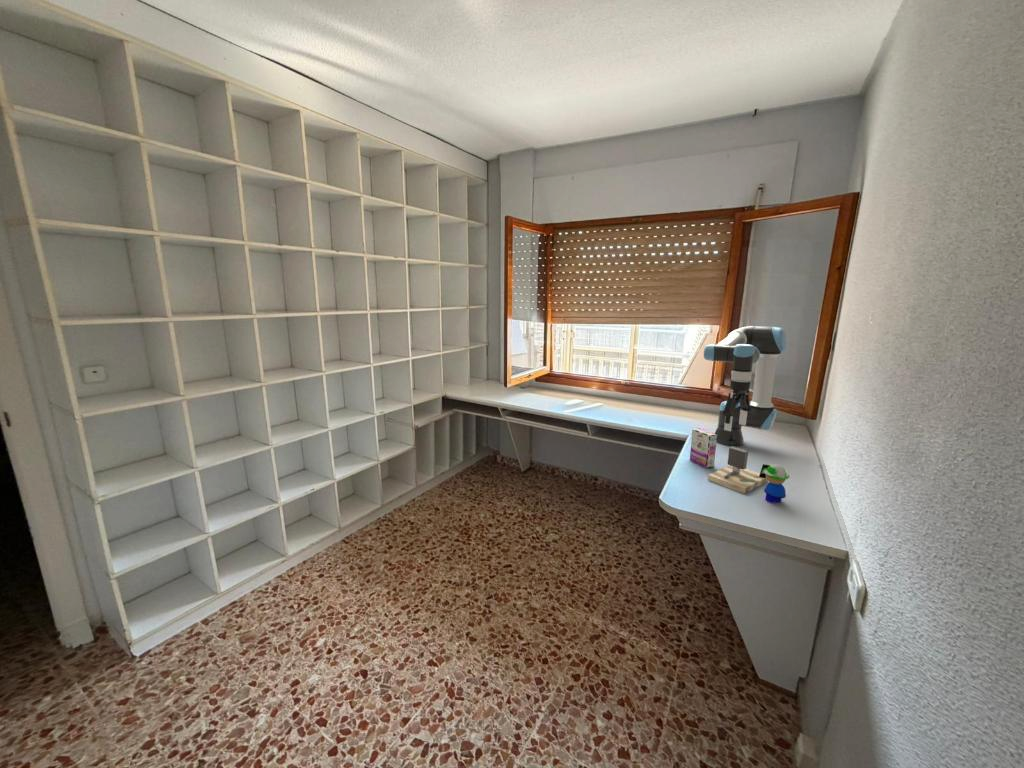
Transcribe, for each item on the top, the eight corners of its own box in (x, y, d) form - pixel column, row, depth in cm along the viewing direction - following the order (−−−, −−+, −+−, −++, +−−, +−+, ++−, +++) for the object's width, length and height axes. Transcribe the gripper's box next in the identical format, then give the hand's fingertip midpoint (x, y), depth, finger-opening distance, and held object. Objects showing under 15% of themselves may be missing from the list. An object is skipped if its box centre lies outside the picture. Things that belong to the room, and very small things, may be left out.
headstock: (731, 469, 194) (732, 464, 194) (767, 481, 181) (768, 475, 181) (707, 479, 183) (708, 474, 183) (744, 493, 170) (745, 487, 170)
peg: (730, 469, 188) (732, 446, 186) (745, 474, 182) (748, 451, 180) (716, 474, 182) (719, 451, 180) (732, 480, 176) (735, 456, 174)
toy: (775, 494, 170) (780, 460, 167) (791, 505, 161) (796, 469, 158) (754, 494, 170) (759, 460, 167) (768, 505, 161) (773, 469, 158)
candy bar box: (714, 466, 197) (718, 434, 193) (706, 468, 195) (710, 435, 192) (696, 458, 207) (699, 427, 204) (689, 459, 205) (691, 428, 202)
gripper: (744, 375, 187) (739, 420, 191) (717, 382, 172) (712, 430, 177) (762, 378, 181) (756, 424, 186) (735, 385, 167) (729, 435, 171)
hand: (735, 427), depth 181 cm, fingers open, 13 cm apart
